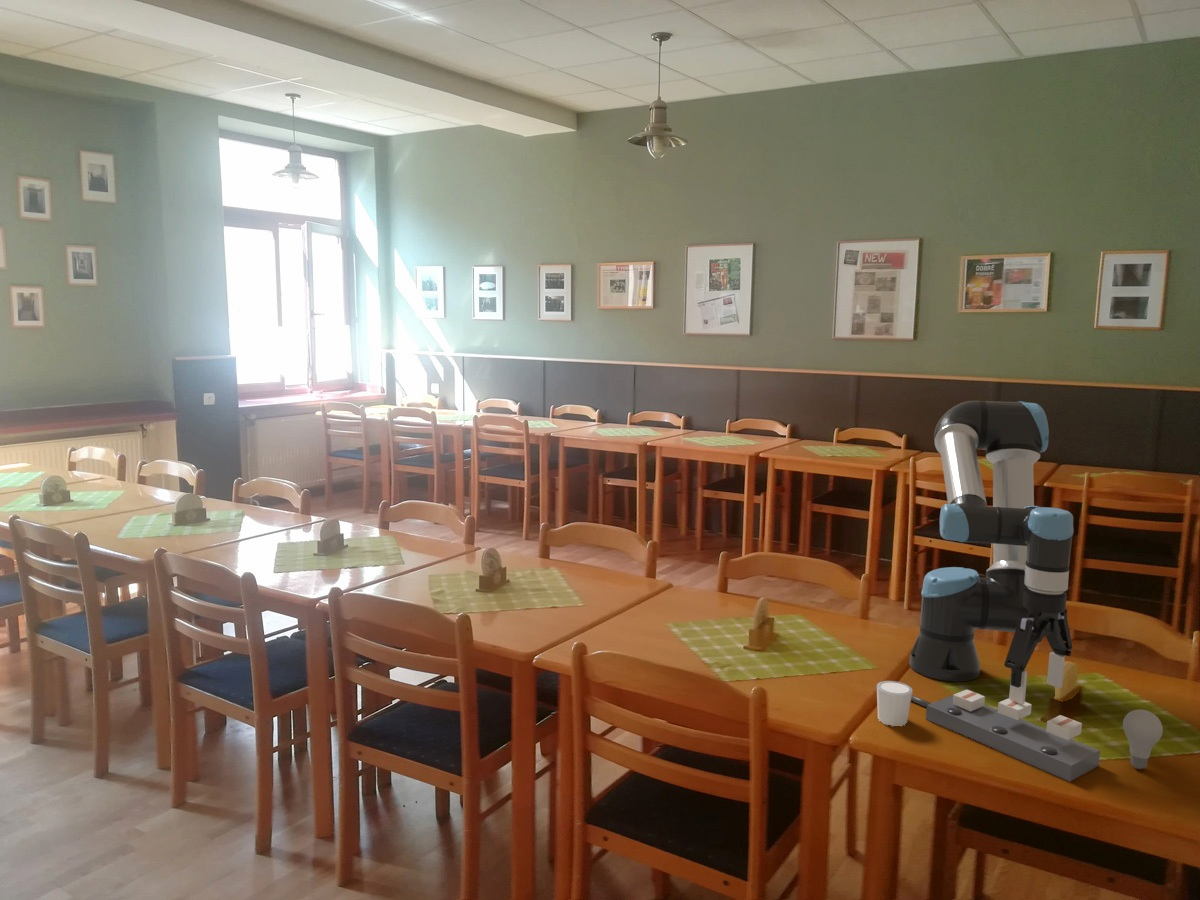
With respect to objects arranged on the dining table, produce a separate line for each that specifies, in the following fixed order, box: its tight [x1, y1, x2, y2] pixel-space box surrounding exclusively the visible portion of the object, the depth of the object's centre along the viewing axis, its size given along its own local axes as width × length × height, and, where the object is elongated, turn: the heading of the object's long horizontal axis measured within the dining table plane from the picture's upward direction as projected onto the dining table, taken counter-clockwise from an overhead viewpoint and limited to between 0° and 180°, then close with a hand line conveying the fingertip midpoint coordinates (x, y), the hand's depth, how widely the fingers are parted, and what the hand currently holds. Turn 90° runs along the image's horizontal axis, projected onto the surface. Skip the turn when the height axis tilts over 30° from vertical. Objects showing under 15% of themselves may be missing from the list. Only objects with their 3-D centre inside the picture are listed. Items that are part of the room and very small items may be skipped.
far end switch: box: [1045, 714, 1083, 740], centre depth 161 cm, size 5×4×2 cm
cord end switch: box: [952, 689, 986, 711], centre depth 176 cm, size 5×4×2 cm
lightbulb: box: [1122, 709, 1164, 770], centre depth 158 cm, size 6×6×11 cm
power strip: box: [911, 694, 1101, 783], centre depth 172 cm, size 10×39×3 cm, turn 35°
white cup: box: [876, 680, 913, 727], centre depth 176 cm, size 7×7×7 cm
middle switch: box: [997, 697, 1033, 720], centre depth 168 cm, size 5×4×2 cm
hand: (1035, 693), depth 172 cm, fingers open, 13 cm apart
